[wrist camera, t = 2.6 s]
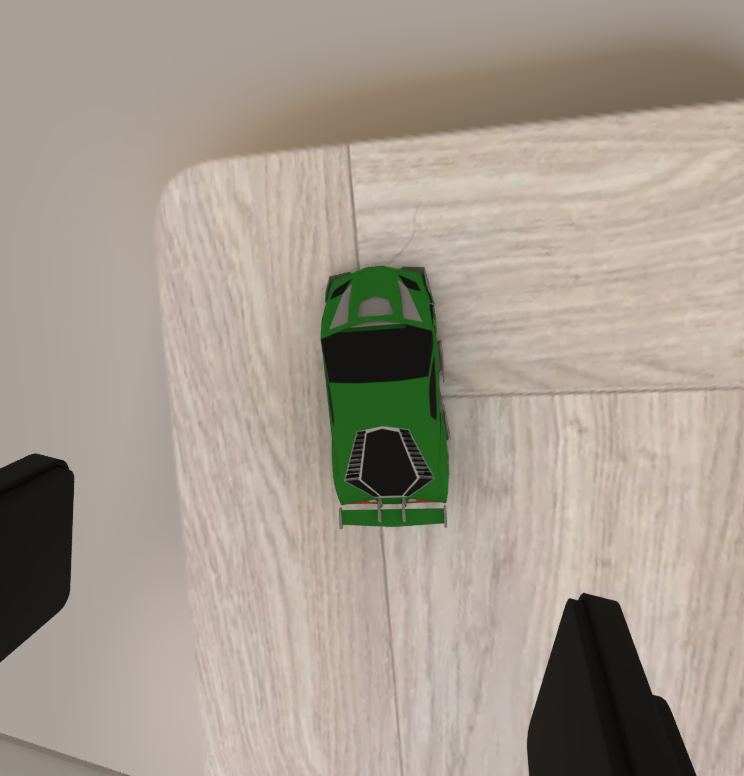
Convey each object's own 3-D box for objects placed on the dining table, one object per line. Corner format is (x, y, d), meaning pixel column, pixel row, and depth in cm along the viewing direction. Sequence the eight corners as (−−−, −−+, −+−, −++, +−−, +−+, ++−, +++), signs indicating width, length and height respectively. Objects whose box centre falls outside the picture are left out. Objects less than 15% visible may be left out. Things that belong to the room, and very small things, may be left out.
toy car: (317, 272, 23) (301, 275, 21) (437, 260, 22) (433, 262, 20) (345, 505, 26) (333, 530, 23) (455, 503, 25) (453, 529, 22)
